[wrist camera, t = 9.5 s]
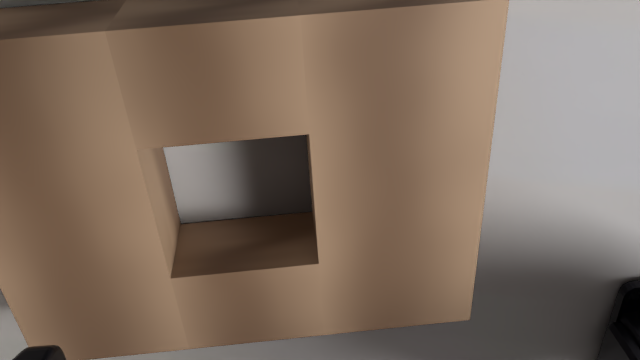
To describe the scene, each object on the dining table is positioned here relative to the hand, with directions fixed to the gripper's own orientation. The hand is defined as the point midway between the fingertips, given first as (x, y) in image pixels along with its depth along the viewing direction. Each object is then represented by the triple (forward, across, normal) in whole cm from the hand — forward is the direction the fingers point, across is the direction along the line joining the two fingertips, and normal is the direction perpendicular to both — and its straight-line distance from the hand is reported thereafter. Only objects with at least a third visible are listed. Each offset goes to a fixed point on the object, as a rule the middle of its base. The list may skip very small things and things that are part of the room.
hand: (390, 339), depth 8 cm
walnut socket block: (+12, +3, +4) cm, 13 cm away
